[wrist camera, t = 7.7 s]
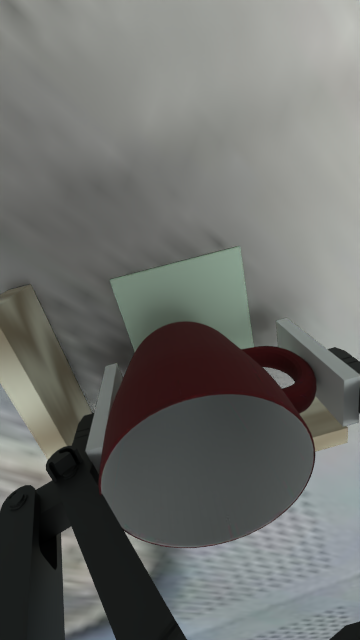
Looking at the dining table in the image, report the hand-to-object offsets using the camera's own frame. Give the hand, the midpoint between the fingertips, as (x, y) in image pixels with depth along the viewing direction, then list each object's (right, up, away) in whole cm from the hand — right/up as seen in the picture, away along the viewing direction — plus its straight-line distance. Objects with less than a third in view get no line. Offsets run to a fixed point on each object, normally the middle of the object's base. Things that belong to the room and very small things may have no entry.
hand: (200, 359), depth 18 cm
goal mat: (0, +1, +3) cm, 3 cm away
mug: (0, +1, +1) cm, 2 cm away
